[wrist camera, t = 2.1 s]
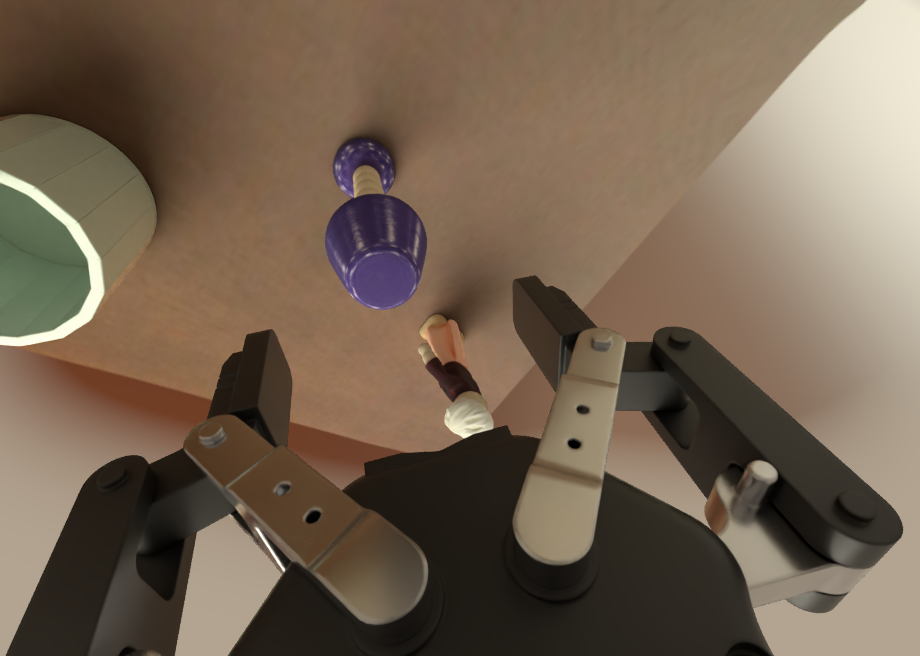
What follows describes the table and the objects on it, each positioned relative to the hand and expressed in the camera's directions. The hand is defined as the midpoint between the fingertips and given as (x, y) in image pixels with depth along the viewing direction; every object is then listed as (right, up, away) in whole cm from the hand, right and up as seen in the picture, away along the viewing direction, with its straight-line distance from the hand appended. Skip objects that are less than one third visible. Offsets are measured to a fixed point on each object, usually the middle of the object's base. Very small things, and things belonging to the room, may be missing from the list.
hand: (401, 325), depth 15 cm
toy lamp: (-5, +11, +16) cm, 20 cm away
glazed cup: (-23, +8, +12) cm, 27 cm away
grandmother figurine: (0, 0, +25) cm, 25 cm away
